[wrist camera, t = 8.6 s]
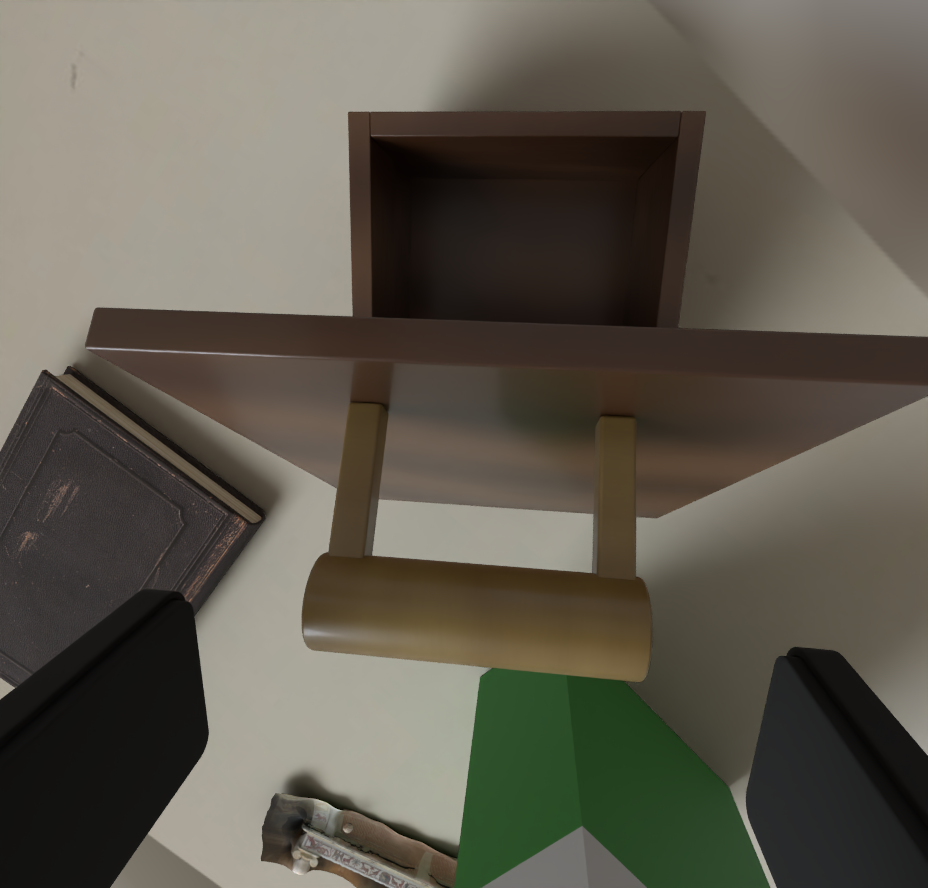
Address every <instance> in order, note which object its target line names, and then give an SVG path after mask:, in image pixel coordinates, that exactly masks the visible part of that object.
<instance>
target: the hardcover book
mask: <svg viewBox="0 0 928 888" xmlns="http://www.w3.org/2000/svg"><path fill="white" fill-rule="evenodd" d="M264 520H265V514H264V511H263V510H262V509H261V508H260V507H258V506H257V505H255V504H254V503H253V502H251V501H250V500H249V499H247V498H246V497H245V496H243V495H242V494H241V493H239V492H238V491H237V490H235V489H234V488H233V487H231V486H230V485H229V484H227V483H226V482H225V481H223V480H222V479H221V478H219V477H218V476H217V475H215V474H214V473H213V472H211V471H210V470H209V469H207V468H206V467H205V466H203V465H202V464H201V463H199V462H198V461H197V460H195V459H194V458H193V457H191V456H190V455H189V454H187V453H186V452H185V451H183V450H182V449H181V448H179V447H178V446H177V445H175V444H174V443H173V442H171V441H170V440H169V439H167V438H166V437H165V436H163V435H162V434H161V433H159V432H158V431H157V430H155V429H154V428H153V427H151V426H150V425H149V424H147V423H146V422H145V421H143V420H142V419H141V418H139V417H138V416H137V415H135V414H134V413H133V412H131V411H130V410H129V409H127V408H126V407H124V406H123V405H122V404H120V403H119V402H118V401H116V400H115V399H114V398H112V397H111V396H110V395H108V394H107V393H106V392H104V391H103V390H102V389H100V388H99V387H98V386H96V385H95V384H94V383H92V382H91V381H90V380H88V379H87V378H86V377H84V376H83V375H82V374H80V373H79V372H78V371H76V370H75V369H74V368H72V367H71V366H68V367H67V369H66V370H65V372H64V374H63V375H61V376H54V375H52V374H51V373H50V372H48V371H47V370H42V372H41V374H40V376H39V378H38V380H37V382H36V384H35V386H34V388H33V390H32V391H31V393H30V395H29V397H28V399H27V401H26V403H25V405H24V407H23V409H22V411H21V413H20V415H19V416H18V418H17V420H16V422H15V424H14V426H13V428H12V430H11V432H10V434H9V436H8V438H7V440H6V442H5V443H4V445H3V447H2V449H1V451H0V678H2V679H3V680H5V681H6V682H7V683H9V684H10V685H12V686H13V687H15V688H16V687H17V686H19V685H20V684H21V683H22V682H24V681H25V680H26V679H27V678H29V677H30V676H31V675H33V674H34V673H35V672H36V671H38V670H39V669H40V668H42V667H43V666H44V665H45V664H47V663H48V662H49V661H50V660H52V659H53V658H54V657H56V656H57V655H58V654H59V653H61V652H62V651H63V650H65V649H66V648H67V647H68V646H70V645H71V644H72V643H73V642H75V641H76V640H77V639H79V638H80V637H81V636H82V635H84V634H85V633H86V632H88V631H89V630H90V629H91V628H93V627H94V626H95V625H97V624H98V623H99V622H100V621H102V620H103V619H104V618H105V617H107V616H108V615H109V614H111V613H112V612H113V611H114V610H116V609H117V608H118V607H120V606H121V605H122V604H123V603H125V602H126V601H127V600H128V599H130V598H131V597H132V596H134V595H135V594H136V593H137V592H139V591H141V590H143V589H156V590H167V591H178V592H180V593H182V594H183V596H184V597H185V601H188V602H190V603H191V605H192V606H193V610H194V616H195V615H196V613H197V612H198V611H199V609H200V608H201V606H202V605H203V604H204V602H205V601H206V600H207V598H208V597H209V595H210V594H211V593H212V591H213V590H214V589H215V587H216V586H217V584H218V583H219V582H220V580H221V579H222V577H223V576H224V575H225V573H226V572H227V571H228V569H229V568H230V566H231V565H232V564H233V562H234V561H235V560H236V558H237V557H238V555H239V554H240V553H241V551H242V550H243V549H244V547H245V546H246V544H247V543H248V542H249V540H250V539H251V538H252V536H253V535H254V533H255V532H256V531H257V529H258V528H259V527H260V525H261V524H262V522H263V521H264Z"/></svg>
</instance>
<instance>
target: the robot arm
mask: <svg viewBox="0 0 928 888" xmlns="http://www.w3.org/2000/svg"><path fill="white" fill-rule="evenodd" d="M208 735H209V729H208V721H207V713H206V705H205V697H204V689H203V681H202V674H201V666H200V658H199V650H198V642H197V634H196V626H195V618H194V610H193V606H192V605H191V603H190V602H188V601H185V597H184V596H183V594H182V593H180V592H178V591H167V590H156V589H143V590H141V591H139V592H137V593H136V594H135V595H134V596H132V597H131V598H130V599H128V600H127V601H126V602H125V603H123V604H122V605H121V606H120V607H118V608H117V609H116V610H114V611H113V612H112V613H111V614H109V615H108V616H107V617H105V618H104V619H103V620H102V621H100V622H99V623H98V624H97V625H95V626H94V627H93V628H91V629H90V630H89V631H88V632H86V633H85V634H84V635H82V636H81V637H80V638H79V639H77V640H76V641H75V642H73V643H72V644H71V645H70V646H68V647H67V648H66V649H65V650H63V651H62V652H61V653H59V654H58V655H57V656H56V657H54V658H53V659H52V660H50V661H49V662H48V663H47V664H45V665H44V666H43V667H42V668H40V669H39V670H38V671H36V672H35V673H34V674H33V675H31V676H30V677H29V678H27V679H26V680H25V681H24V682H22V683H21V684H20V685H19V686H17V687H16V688H15V689H13V690H12V691H11V692H10V693H8V694H7V695H6V696H4V697H3V698H2V699H1V700H0V888H110V887H111V885H112V884H113V883H114V881H115V880H116V878H117V877H118V875H119V874H120V873H121V871H122V870H123V868H124V867H125V865H126V864H127V862H128V861H129V859H130V858H131V857H132V855H133V854H134V852H135V851H136V850H137V848H138V846H139V845H140V844H141V842H142V841H143V839H144V838H145V836H146V835H147V834H148V832H149V831H150V829H151V828H152V827H153V825H154V824H155V822H156V821H157V819H158V818H159V816H160V815H161V814H162V812H163V811H164V809H165V808H166V806H167V805H168V804H169V802H170V801H171V799H172V798H173V796H174V795H175V793H176V792H177V791H178V789H179V788H180V786H181V785H182V783H183V782H184V781H185V779H186V778H187V776H188V775H189V773H190V772H191V770H192V769H193V768H194V766H195V765H196V763H197V762H198V760H199V759H200V758H201V756H202V754H203V752H204V750H205V748H206V745H207V741H208ZM746 808H747V814H748V818H749V821H750V824H751V826H752V829H753V831H754V834H755V836H756V839H757V841H758V843H759V846H760V848H761V851H762V853H763V855H764V858H765V860H766V863H767V865H768V867H769V870H770V872H771V875H772V877H773V879H774V882H775V884H776V887H777V888H928V755H927V754H926V753H925V752H924V751H923V750H922V748H921V747H920V746H919V745H918V744H917V743H916V741H915V740H914V739H913V738H912V737H911V736H910V734H909V733H908V732H907V731H906V730H905V729H904V727H903V726H902V725H901V724H900V723H899V721H898V720H897V719H896V718H895V717H894V716H893V714H892V713H891V712H890V711H889V710H888V709H887V707H886V706H885V705H884V704H883V703H882V702H881V700H880V699H879V698H878V697H877V696H876V695H875V693H874V692H873V691H872V690H871V689H870V688H869V686H868V685H867V684H866V683H865V682H864V680H863V679H862V678H861V677H860V676H859V675H858V673H857V672H856V671H855V670H854V669H853V668H852V666H851V665H850V664H849V663H848V662H847V661H846V659H845V658H844V657H843V656H842V655H841V654H840V653H838V652H837V651H833V650H825V649H814V648H802V647H793V648H791V649H790V650H789V651H788V653H787V656H779V657H778V658H777V659H776V661H775V664H774V669H773V673H772V678H771V683H770V687H769V692H768V696H767V701H766V705H765V710H764V714H763V719H762V723H761V728H760V733H759V737H758V742H757V746H756V751H755V755H754V760H753V764H752V769H751V774H750V778H749V783H748V787H747V792H746Z"/></svg>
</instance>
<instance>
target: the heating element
mask: <svg viewBox="0 0 928 888" xmlns="http://www.w3.org/2000/svg"><path fill="white" fill-rule="evenodd" d="M262 840H263V851H262V855H261V861H267V862H273V863H278V864H281V865H284V866H286V867H287V868H289V869H290V870H292V871H293V872H294V873H296V874H299V875H303V874H305V873H307V872H309V871H311V870H322V871H327V872H331V873H334V874H337V875H339V876H341V877H343V878H345V879H346V880H348V881H349V882H351V883H352V884H353V885H354V886H355V887H356V888H454V884H455V876H456V868H457V860H458V859H456V858H452V857H450V856H447V855H445V854H442V853H439V852H438V851H436V850H434V849H432V848H431V847H429V846H427V845H426V844H424V843H422V842H419V841H416V840H412V839H410V838H407V837H404V836H402V835H400V834H397V833H396V832H394V831H393V830H392V829H390V828H389V827H388V826H386V825H384V824H382V823H381V822H378V821H374V820H371V819H369V818H367V817H365V816H363V815H361V814H360V813H357V812H354V811H352V810H346V809H345V810H342V811H341V810H338V809H336V808H334V807H332V806H331V805H330V804H328V803H326V802H324V801H321V800H317V799H313V798H303V797H295V796H292V795H289V794H287V795H286V794H284V793H283V794H277V793H275V795H274V796H273V798H272V800H271V806H270V808H269V811H268V812H267V815H266V818H265V821H264V825H263V826H262Z"/></svg>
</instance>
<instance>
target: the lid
mask: <svg viewBox="0 0 928 888" xmlns="http://www.w3.org/2000/svg"><path fill="white" fill-rule="evenodd" d="M85 348H86V349H88V350H89V351H91V352H93V353H95V354H97V355H98V356H100V357H102V358H104V359H105V360H107V361H109V362H111V363H113V364H114V365H116V366H118V367H120V368H122V369H123V370H125V371H127V372H129V373H131V374H132V375H134V376H136V377H138V378H140V379H141V380H143V381H145V382H147V383H149V384H150V385H152V386H154V387H156V388H158V389H159V390H161V391H163V392H165V393H167V394H168V395H170V396H172V397H174V398H176V399H177V400H179V401H181V402H183V403H185V404H186V405H188V406H190V407H192V408H193V409H195V410H197V411H199V412H201V413H202V414H204V415H206V416H208V417H210V418H211V419H213V420H215V421H217V422H219V423H220V424H222V425H224V426H226V427H228V428H229V429H231V430H233V431H235V432H237V433H238V434H240V435H242V436H244V437H246V438H247V439H249V440H251V441H253V442H255V443H256V444H258V445H260V446H262V447H264V448H265V449H267V450H269V451H271V452H272V453H274V454H276V455H278V456H280V457H281V458H283V459H285V460H287V461H289V462H290V463H292V464H294V465H296V466H298V467H299V468H301V469H303V470H305V471H307V472H308V473H310V474H312V475H314V476H316V477H317V478H319V479H321V480H323V481H325V482H326V483H328V484H330V485H332V486H334V487H335V488H337V493H336V500H335V508H334V515H333V522H332V529H331V537H330V544H329V551H328V552H327V553H324V554H322V555H321V556H320V557H319V558H318V559H317V561H316V562H315V564H314V566H313V568H312V570H311V573H310V575H309V578H308V581H307V585H306V589H305V593H304V599H303V606H302V633H303V638H304V642H305V644H306V646H307V647H308V648H309V649H311V650H315V651H325V652H335V653H346V654H356V655H366V656H376V657H386V658H397V659H407V660H417V661H427V662H438V663H448V664H458V665H468V666H479V667H489V668H499V669H509V670H520V671H530V672H540V673H550V674H560V675H571V676H581V677H591V678H601V679H612V680H622V681H632V682H641V681H643V680H644V679H645V678H646V676H647V673H648V670H649V667H650V662H651V655H652V643H653V623H652V610H651V603H650V597H649V593H648V590H647V587H646V584H645V582H644V580H643V579H642V578H640V577H636V517H645V518H659V517H661V516H663V515H665V514H668V513H670V512H672V511H674V510H676V509H679V508H681V507H683V506H685V505H688V504H690V503H692V502H694V501H696V500H699V499H701V498H703V497H705V496H707V495H710V494H712V493H714V492H716V491H719V490H721V489H723V488H725V487H727V486H730V485H732V484H734V483H736V482H738V481H741V480H743V479H745V478H747V477H750V476H752V475H754V474H756V473H758V472H761V471H763V470H765V469H767V468H769V467H772V466H774V465H776V464H778V463H781V462H783V461H785V460H787V459H789V458H792V457H794V456H796V455H798V454H801V453H803V452H805V451H807V450H809V449H812V448H814V447H816V446H818V445H820V444H823V443H825V442H827V441H829V440H832V439H834V438H836V437H838V436H840V435H843V434H845V433H847V432H849V431H851V430H854V429H856V428H858V427H860V426H863V425H865V424H867V423H869V422H871V421H874V420H876V419H878V418H880V417H882V416H885V415H887V414H889V413H891V412H894V411H896V410H898V409H900V408H902V407H905V406H907V405H909V404H911V403H913V402H916V401H918V400H920V399H922V398H925V397H927V396H928V337H916V336H887V335H859V334H831V333H803V332H774V331H746V330H718V329H690V328H661V327H633V326H605V325H576V324H548V323H520V322H492V321H463V320H435V319H407V318H378V317H350V316H322V315H294V314H265V313H237V312H209V311H181V310H152V309H124V308H96V309H95V310H94V313H93V317H92V321H91V325H90V328H89V332H88V336H87V340H86V343H85ZM379 499H383V500H398V501H412V502H427V503H441V504H456V505H470V506H485V507H500V508H514V509H529V510H543V511H558V512H572V513H587V514H594V516H593V561H592V573H584V572H571V571H558V570H546V569H533V568H521V567H508V566H495V565H483V564H470V563H458V562H445V561H432V560H420V559H407V558H394V557H382V556H372V551H373V542H374V534H375V525H376V517H377V508H378V500H379Z"/></svg>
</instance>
